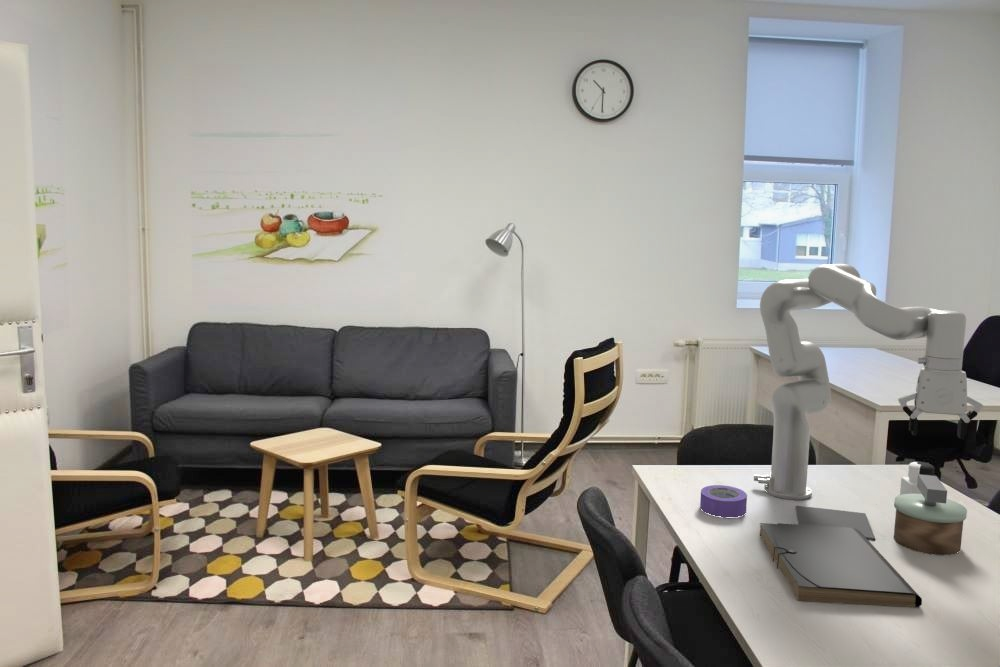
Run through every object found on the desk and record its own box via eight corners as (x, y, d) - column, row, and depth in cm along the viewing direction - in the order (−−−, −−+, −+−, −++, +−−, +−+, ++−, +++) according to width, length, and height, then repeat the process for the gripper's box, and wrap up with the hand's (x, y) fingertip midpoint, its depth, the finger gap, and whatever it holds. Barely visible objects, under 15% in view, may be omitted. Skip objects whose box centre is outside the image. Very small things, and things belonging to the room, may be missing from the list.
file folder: (758, 521, 187) (861, 527, 184) (757, 537, 187) (860, 543, 185) (797, 584, 154) (923, 592, 152) (795, 603, 155) (920, 612, 153)
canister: (899, 550, 179) (902, 517, 178) (889, 528, 192) (891, 497, 191) (967, 558, 175) (971, 525, 174) (952, 535, 188) (955, 504, 187)
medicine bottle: (926, 502, 210) (929, 460, 209) (938, 512, 203) (942, 468, 202) (898, 501, 211) (902, 459, 209) (909, 510, 204) (913, 467, 202)
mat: (799, 531, 190) (799, 529, 190) (795, 507, 206) (795, 505, 206) (875, 540, 185) (875, 538, 185) (865, 515, 201) (865, 513, 201)
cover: (900, 518, 178) (902, 489, 177) (889, 496, 192) (891, 469, 191) (974, 526, 173) (977, 496, 172) (957, 503, 187) (959, 476, 186)
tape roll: (729, 522, 195) (730, 503, 195) (691, 509, 204) (691, 491, 203) (754, 511, 203) (755, 493, 202) (716, 499, 212) (717, 481, 211)
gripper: (904, 364, 176) (898, 437, 179) (990, 369, 171) (983, 443, 174) (898, 359, 184) (893, 429, 186) (981, 363, 178) (974, 435, 181)
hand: (936, 436), depth 180 cm, fingers open, 9 cm apart
